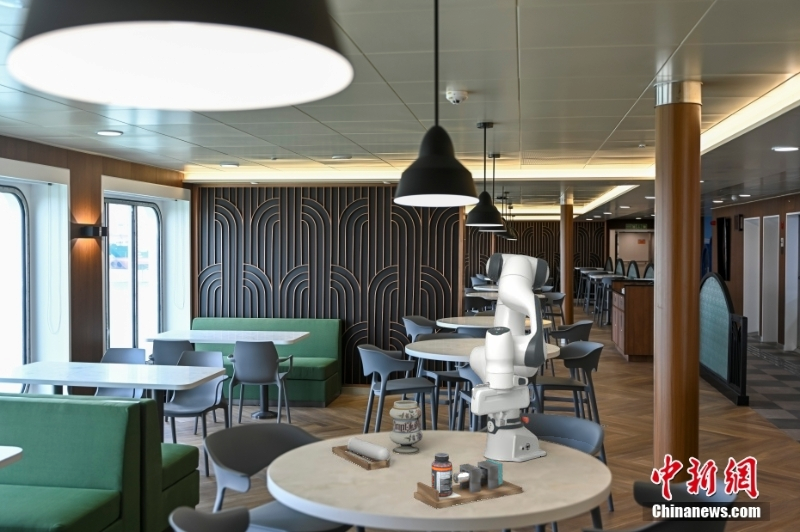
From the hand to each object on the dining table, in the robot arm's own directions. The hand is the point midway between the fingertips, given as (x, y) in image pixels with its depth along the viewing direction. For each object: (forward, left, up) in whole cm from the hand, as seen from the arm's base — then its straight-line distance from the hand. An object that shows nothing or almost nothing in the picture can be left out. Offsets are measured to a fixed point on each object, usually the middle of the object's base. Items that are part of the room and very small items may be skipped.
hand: (501, 425), depth 225 cm
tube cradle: (+24, -49, -18) cm, 58 cm away
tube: (+23, -49, -15) cm, 56 cm away
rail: (+15, +4, -18) cm, 23 cm away
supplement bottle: (+24, +4, -17) cm, 29 cm away
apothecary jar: (+4, -51, -18) cm, 55 cm away
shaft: (+12, +4, -16) cm, 20 cm away
